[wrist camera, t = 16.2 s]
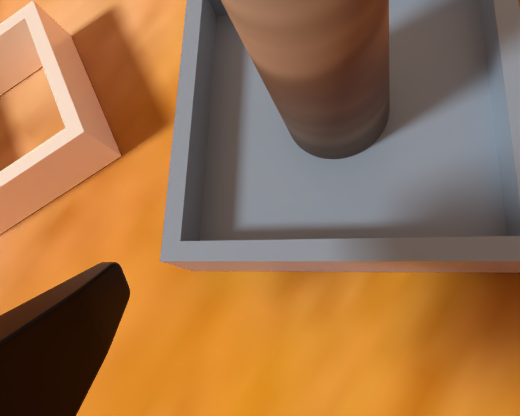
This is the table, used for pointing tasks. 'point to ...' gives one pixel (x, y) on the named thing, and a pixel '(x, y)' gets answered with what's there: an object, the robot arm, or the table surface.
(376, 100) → the pepper mill
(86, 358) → the robot arm
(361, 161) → the tray
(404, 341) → the table surface
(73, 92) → the holder
